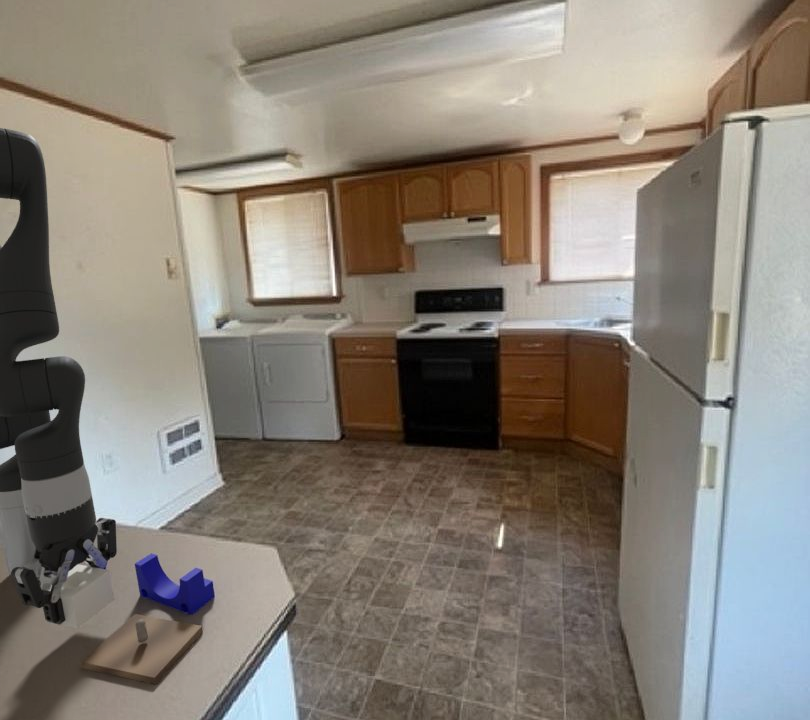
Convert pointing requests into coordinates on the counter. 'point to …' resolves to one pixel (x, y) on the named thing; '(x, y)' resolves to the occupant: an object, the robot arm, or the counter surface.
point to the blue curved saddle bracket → (173, 586)
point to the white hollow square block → (85, 594)
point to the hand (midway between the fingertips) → (79, 605)
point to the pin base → (143, 648)
